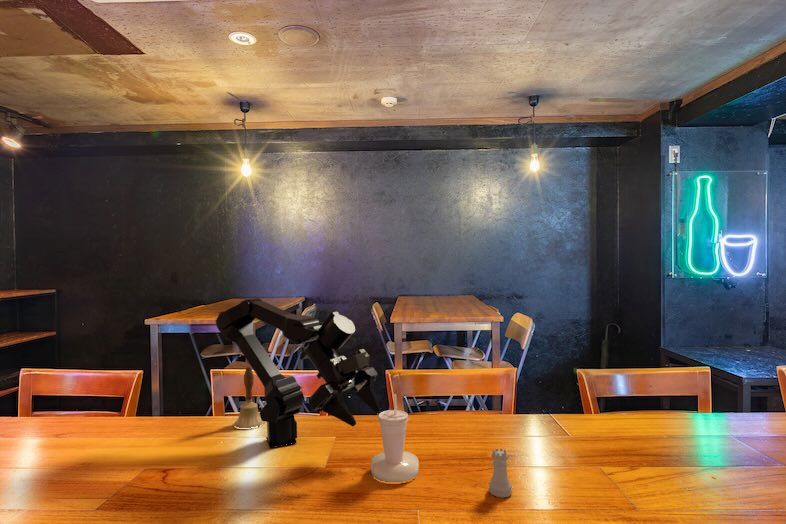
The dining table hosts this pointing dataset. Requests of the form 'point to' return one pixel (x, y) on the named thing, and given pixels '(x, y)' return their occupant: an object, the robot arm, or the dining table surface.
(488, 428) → the dining table surface
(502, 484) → the rook chess piece
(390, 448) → the smoothie
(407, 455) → the stand
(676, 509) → the dining table surface
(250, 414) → the hand bell
